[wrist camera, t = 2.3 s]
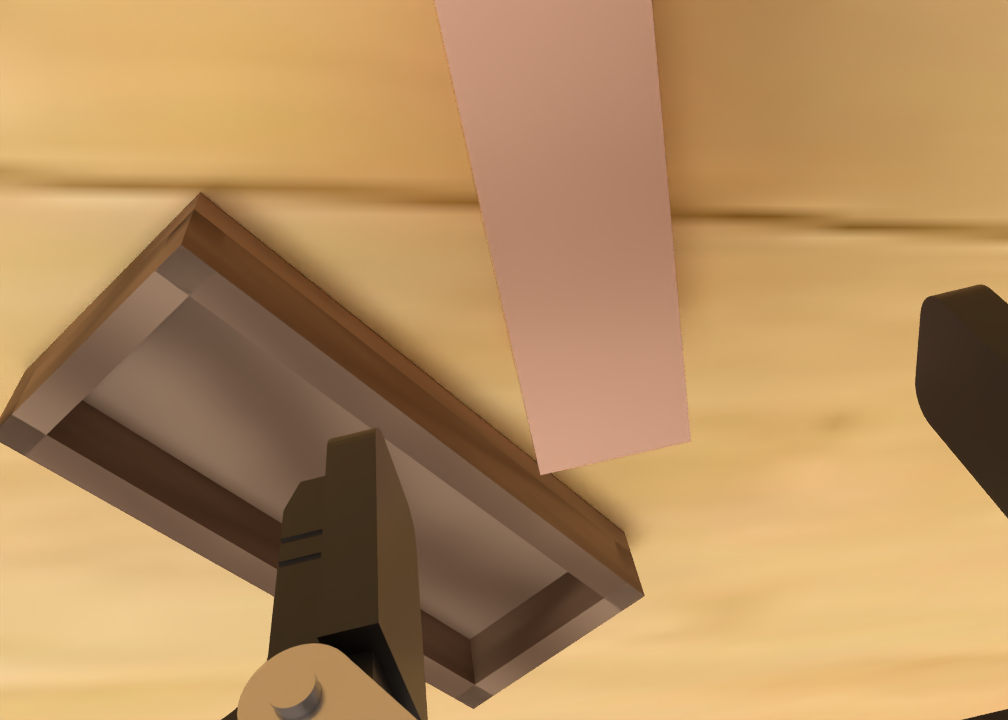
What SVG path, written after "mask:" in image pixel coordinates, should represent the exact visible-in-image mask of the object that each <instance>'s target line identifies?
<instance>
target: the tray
mask: <svg viewBox="0 0 1008 720" xmlns="http://www.w3.org/2000/svg"><path fill="white" fill-rule="evenodd" d="M377 427H378V428H379V429H380V430H381V432H382V434H383V436H384V439H385V442H386V444H387V447H388V450H389V453H390V455H391V458H392V461H393V464H394V466H395V469H396V472H397V475H398V477H399V480H400V483H401V486H402V488H403V491H404V494H405V497H406V499H407V502H408V505H409V509H410V513H411V517H412V521H413V526H414V531H415V538H416V548H417V563H418V579H419V594H420V610H421V625H422V640H423V656H424V671H425V682H427V683H428V684H430V685H432V686H434V687H435V688H437V689H439V690H441V691H443V692H444V693H446V694H448V695H450V696H451V697H453V698H455V699H457V700H459V701H460V702H462V703H464V704H466V705H467V706H469V707H471V708H473V709H474V708H475V707H477V706H478V705H480V704H482V703H483V702H485V701H486V700H488V699H489V698H491V697H492V696H494V695H495V694H497V693H498V692H500V691H501V690H503V689H504V688H506V687H507V686H509V685H510V684H512V683H513V682H515V681H516V680H518V679H519V678H521V677H522V676H524V675H525V674H527V673H528V672H530V671H532V670H533V669H535V668H536V667H538V666H539V665H541V664H542V663H544V662H545V661H547V660H548V659H550V658H551V657H553V656H554V655H556V654H557V653H559V652H560V651H562V650H563V649H565V648H566V647H568V646H569V645H571V644H572V643H574V642H575V641H577V640H578V639H580V638H582V637H583V636H585V635H586V634H588V633H589V632H591V631H592V630H594V629H595V628H597V627H598V626H600V625H601V624H603V623H604V622H606V621H607V620H609V619H610V618H612V617H613V616H615V615H616V614H618V613H619V612H621V611H622V610H624V609H625V608H627V607H628V606H630V605H632V604H633V603H635V602H636V601H638V600H639V599H641V598H642V597H644V592H643V589H642V586H641V583H640V580H639V577H638V574H637V571H636V567H635V564H634V561H633V558H632V555H631V552H630V549H629V546H628V543H627V539H626V536H625V533H624V532H623V531H622V530H620V529H619V528H618V527H617V526H615V525H614V524H613V523H612V522H610V521H609V520H608V519H607V518H605V517H604V516H603V515H602V514H600V513H599V512H598V511H597V510H595V509H594V508H593V507H592V506H590V505H589V504H588V503H587V502H585V501H584V500H583V499H582V498H580V497H579V496H578V495H577V494H575V493H574V492H573V491H572V490H570V489H569V488H568V487H567V486H565V485H564V484H563V483H562V482H560V481H559V480H558V479H557V478H555V477H554V476H553V475H552V474H550V473H548V474H544V475H540V471H539V467H538V463H537V462H535V461H534V460H533V459H532V458H530V457H529V456H528V455H527V454H525V453H524V452H523V451H522V450H520V449H519V448H518V447H517V446H515V445H514V444H513V443H512V442H510V441H509V440H508V439H507V438H505V437H504V436H503V435H502V434H500V433H499V432H498V431H497V430H495V429H494V428H493V427H492V426H490V425H489V424H488V423H487V422H485V421H484V420H483V419H482V418H480V417H479V416H478V415H477V414H475V413H474V412H473V411H472V410H470V409H469V408H468V407H467V406H465V405H464V404H463V403H462V402H460V401H459V400H458V399H457V398H455V397H454V396H453V395H452V394H450V393H449V392H448V391H447V390H445V389H444V388H443V387H442V386H441V385H439V384H438V383H437V382H436V381H434V380H433V379H432V378H431V377H429V376H428V375H427V374H426V373H424V372H423V371H422V370H421V369H419V368H418V367H417V366H416V365H414V364H413V363H412V362H411V361H409V360H408V359H407V358H406V357H404V356H403V355H402V354H401V353H399V352H398V351H397V350H396V349H394V348H393V347H392V346H391V345H389V344H388V343H387V342H386V341H384V340H383V339H382V338H381V337H379V336H378V335H377V334H376V333H374V332H373V331H372V330H371V329H369V328H368V327H367V326H366V325H364V324H363V323H362V322H361V321H359V320H358V319H357V318H356V317H354V316H353V315H352V314H351V313H349V312H348V311H347V310H346V309H344V308H343V307H342V306H341V305H339V304H338V303H337V302H336V301H334V300H333V299H332V298H331V297H329V296H328V295H327V294H326V293H324V292H323V291H322V290H321V289H319V288H318V287H317V286H316V285H314V284H313V283H312V282H311V281H309V280H308V279H307V278H306V277H304V276H303V275H302V274H301V273H299V272H298V271H297V270H296V269H294V268H293V267H292V266H291V265H289V264H288V263H287V262H286V261H284V260H283V259H282V258H281V257H279V256H278V255H277V254H276V253H274V252H273V251H272V250H271V249H269V248H268V247H267V246H266V245H264V244H263V243H262V242H261V241H259V240H258V239H257V238H256V237H254V236H253V235H252V234H251V233H250V232H248V231H247V230H246V229H245V228H243V227H242V226H241V225H240V224H238V223H237V222H236V221H235V220H233V219H232V218H231V217H230V216H228V215H227V214H226V213H225V212H223V211H222V210H221V209H220V208H218V207H217V206H216V205H215V204H213V203H212V202H211V201H210V200H208V199H207V198H206V197H205V196H203V195H202V194H201V193H199V195H198V196H197V197H196V198H195V199H194V200H193V201H192V202H191V203H190V204H189V205H188V206H187V207H186V208H185V209H184V210H183V211H182V212H181V213H180V214H179V215H178V216H177V217H176V218H175V219H174V220H173V221H172V222H171V223H170V224H169V225H168V226H167V227H166V228H165V229H164V230H163V231H162V232H161V233H160V234H159V235H158V236H157V237H156V238H155V239H154V240H153V241H152V243H151V244H150V245H149V246H148V247H147V248H146V249H145V250H144V251H143V252H142V253H141V254H140V255H139V256H138V257H137V258H136V259H135V260H134V261H133V262H132V263H131V264H130V265H129V266H128V267H127V268H126V269H125V270H124V271H123V272H122V273H121V274H120V275H119V276H118V277H117V278H116V279H115V280H114V281H113V282H112V283H111V284H110V285H109V286H108V287H107V288H106V290H105V291H104V292H103V293H102V294H101V295H100V296H99V297H98V298H97V299H96V300H95V301H94V302H93V303H92V304H91V305H90V306H89V307H88V308H87V309H86V310H85V311H84V312H83V313H82V314H81V315H80V316H79V317H78V318H77V319H76V320H75V321H74V322H73V323H72V324H71V325H70V326H69V327H68V328H67V329H66V330H65V331H64V332H63V333H62V334H61V335H60V336H59V338H58V339H57V340H56V341H55V342H54V343H53V344H52V345H51V346H50V347H49V348H48V349H47V350H46V351H45V352H44V353H43V354H42V355H41V356H40V357H39V358H38V359H37V360H36V361H35V362H34V363H33V364H32V365H31V366H30V367H29V368H28V369H27V370H26V371H25V373H24V375H23V376H22V378H21V380H20V382H19V384H18V386H17V388H16V389H15V391H14V393H13V395H12V397H11V399H10V400H9V402H8V404H7V406H6V408H5V410H4V412H3V413H2V415H1V417H0V442H1V443H3V444H4V445H6V446H8V447H10V448H11V449H13V450H15V451H17V452H19V453H20V454H22V455H24V456H26V457H27V458H29V459H31V460H33V461H35V462H36V463H38V464H40V465H42V466H43V467H45V468H47V469H49V470H51V471H52V472H54V473H56V474H58V475H59V476H61V477H63V478H65V479H66V480H68V481H70V482H72V483H74V484H75V485H77V486H79V487H81V488H82V489H84V490H86V491H88V492H90V493H91V494H93V495H95V496H97V497H98V498H100V499H102V500H104V501H106V502H107V503H109V504H111V505H113V506H114V507H116V508H118V509H120V510H121V511H123V512H125V513H127V514H129V515H130V516H132V517H134V518H136V519H137V520H139V521H141V522H143V523H145V524H146V525H148V526H150V527H152V528H153V529H155V530H157V531H159V532H161V533H162V534H164V535H166V536H168V537H169V538H171V539H173V540H175V541H176V542H178V543H180V544H182V545H184V546H185V547H187V548H189V549H191V550H192V551H194V552H196V553H198V554H200V555H201V556H203V557H205V558H207V559H208V560H210V561H212V562H214V563H215V564H217V565H219V566H221V567H223V568H224V569H226V570H228V571H230V572H231V573H233V574H235V575H237V576H239V577H240V578H242V579H244V580H246V581H247V582H249V583H251V584H253V585H255V586H256V587H258V588H260V589H262V590H263V591H265V592H267V593H269V594H270V595H272V596H275V586H276V577H277V569H278V568H279V564H278V558H279V548H280V545H281V544H282V543H281V529H282V520H283V510H284V509H285V507H286V505H287V504H288V502H289V500H290V498H291V497H292V495H293V493H294V492H295V490H296V488H297V487H298V485H299V483H300V482H302V481H306V480H310V479H314V478H318V477H322V476H325V473H326V454H327V443H328V440H329V439H331V438H335V437H339V436H344V435H348V434H352V433H356V432H360V431H364V430H369V429H373V428H377Z"/></svg>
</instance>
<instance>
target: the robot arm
mask: <svg viewBox="0 0 1008 720" xmlns="http://www.w3.org/2000/svg"><path fill="white" fill-rule="evenodd" d="M915 387H916V394H917V399H918V402H919V405H920V408H921V410H922V413H923V415H924V417H925V418H926V420H927V421H928V423H929V424H930V425H931V427H932V428H933V429H934V430H935V431H936V433H937V434H938V435H939V436H940V437H941V439H942V440H943V441H944V442H945V443H946V445H947V446H948V447H949V448H950V449H951V451H952V452H953V453H954V454H955V455H956V457H957V458H958V459H959V460H960V461H961V463H962V464H963V465H964V466H965V467H966V469H967V470H968V471H969V472H970V473H971V475H972V476H973V477H974V478H975V479H976V481H977V482H978V483H979V484H980V485H981V487H982V488H983V489H984V490H985V491H986V493H987V494H988V495H989V496H990V497H991V499H992V500H993V501H994V502H995V503H996V505H997V506H998V507H999V508H1000V509H1001V511H1002V512H1003V513H1004V514H1005V515H1006V517H1007V518H1008V304H1007V303H1006V302H1005V301H1004V300H1003V299H1002V298H1000V297H999V296H998V295H997V294H996V293H995V292H993V291H992V290H991V289H990V288H988V287H987V286H985V285H975V286H971V287H967V288H963V289H959V290H954V291H950V292H946V293H942V294H938V295H934V296H929V297H927V298H926V299H925V300H924V302H923V304H922V307H921V314H920V327H919V339H918V352H917V365H916V378H915ZM281 543H282V544H281V545H280V548H279V558H278V564H279V568H278V569H277V577H276V586H275V596H274V605H273V615H272V624H271V634H270V643H269V653H268V658H267V662H265V663H264V664H263V665H262V666H261V667H260V668H259V669H258V670H257V671H256V672H255V673H254V674H253V676H252V677H251V678H250V680H249V681H248V683H247V684H246V686H245V687H244V690H243V692H242V694H241V696H240V700H239V704H238V707H237V708H236V709H235V710H234V711H232V712H231V713H230V714H229V715H227V716H226V717H225V718H223V719H221V720H428V717H427V702H426V686H425V671H424V656H423V640H422V625H421V610H420V594H419V579H418V563H417V548H416V538H415V531H414V526H413V521H412V517H411V513H410V509H409V505H408V502H407V499H406V497H405V494H404V491H403V488H402V486H401V483H400V480H399V477H398V475H397V472H396V469H395V466H394V464H393V461H392V458H391V455H390V453H389V450H388V447H387V444H386V442H385V439H384V436H383V434H382V432H381V430H380V429H379V428H378V427H377V428H373V429H369V430H364V431H360V432H356V433H352V434H348V435H344V436H339V437H335V438H331V439H329V440H328V443H327V454H326V473H325V476H322V477H318V478H314V479H310V480H306V481H302V482H300V483H299V485H298V487H297V488H296V490H295V492H294V493H293V495H292V497H291V498H290V500H289V502H288V504H287V505H286V507H285V509H284V510H283V520H282V529H281ZM964 720H1008V709H1006V710H1002V711H997V712H993V713H989V714H985V715H980V716H976V717H972V718H968V719H964Z"/></svg>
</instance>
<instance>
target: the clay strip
mask: <svg viewBox="0 0 1008 720" xmlns="http://www.w3.org/2000/svg"><path fill="white" fill-rule="evenodd" d="M433 2H434V6H435V11H436V15H437V19H438V24H439V28H440V33H441V37H442V42H443V46H444V51H445V55H446V60H447V64H448V69H449V73H450V78H451V82H452V86H453V91H454V95H455V100H456V104H457V109H458V113H459V118H460V122H461V127H462V131H463V136H464V140H465V145H466V149H467V153H468V158H469V162H470V167H471V171H472V176H473V180H474V185H475V189H476V194H477V198H478V203H479V207H480V212H481V216H482V220H483V225H484V229H485V234H486V238H487V243H488V247H489V252H490V256H491V261H492V265H493V270H494V274H495V279H496V283H497V288H498V292H499V296H500V301H501V305H502V310H503V314H504V319H505V323H506V328H507V332H508V337H509V341H510V346H511V350H512V354H513V359H514V363H515V367H516V372H517V376H518V380H519V385H520V389H521V393H522V398H523V402H524V406H525V411H526V415H527V419H528V424H529V428H530V432H531V437H532V441H533V445H534V450H535V454H536V458H537V462H538V467H539V471H540V475H544V474H548V473H553V472H557V471H562V470H566V469H570V468H575V467H579V466H584V465H588V464H593V463H597V462H602V461H606V460H610V459H615V458H619V457H624V456H628V455H633V454H637V453H641V452H646V451H650V450H655V449H659V448H664V447H668V446H673V445H677V444H681V443H686V442H690V441H691V437H690V426H689V415H688V404H687V392H686V381H685V370H684V359H683V347H682V336H681V325H680V313H679V302H678V291H677V280H676V268H675V257H674V246H673V235H672V223H671V212H670V201H669V190H668V178H667V167H666V156H665V144H664V133H663V122H662V111H661V99H660V88H659V77H658V66H657V54H656V43H655V32H654V21H653V9H652V0H433Z"/></svg>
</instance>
